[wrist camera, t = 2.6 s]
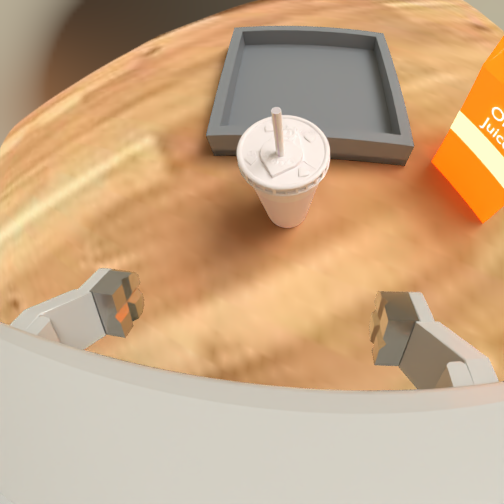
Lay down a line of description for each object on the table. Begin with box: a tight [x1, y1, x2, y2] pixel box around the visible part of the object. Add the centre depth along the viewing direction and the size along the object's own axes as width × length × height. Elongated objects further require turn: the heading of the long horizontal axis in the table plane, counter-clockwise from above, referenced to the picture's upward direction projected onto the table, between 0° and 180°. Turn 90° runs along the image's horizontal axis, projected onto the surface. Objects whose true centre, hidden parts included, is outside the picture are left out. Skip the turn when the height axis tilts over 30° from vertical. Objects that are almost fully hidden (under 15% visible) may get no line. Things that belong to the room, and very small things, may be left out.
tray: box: [206, 26, 414, 166], centre depth 32 cm, size 20×20×4 cm
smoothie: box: [237, 107, 330, 228], centre depth 23 cm, size 6×6×14 cm
